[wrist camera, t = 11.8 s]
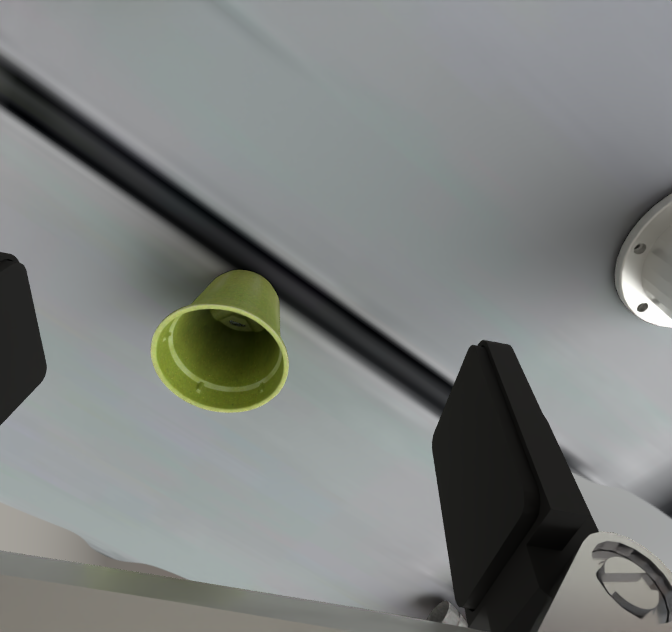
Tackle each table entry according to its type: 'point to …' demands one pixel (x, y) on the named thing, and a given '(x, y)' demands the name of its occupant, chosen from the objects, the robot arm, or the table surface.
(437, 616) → the bouquet
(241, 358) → the plant pot
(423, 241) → the table surface
